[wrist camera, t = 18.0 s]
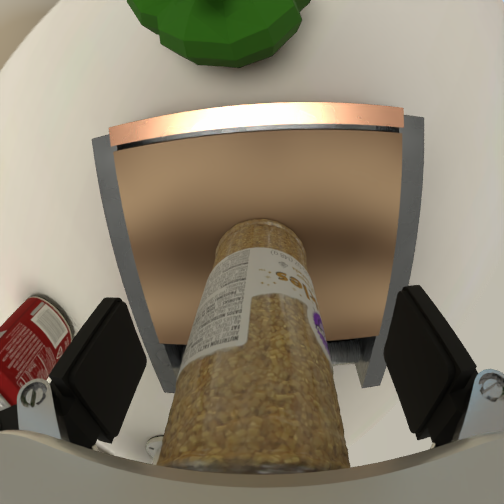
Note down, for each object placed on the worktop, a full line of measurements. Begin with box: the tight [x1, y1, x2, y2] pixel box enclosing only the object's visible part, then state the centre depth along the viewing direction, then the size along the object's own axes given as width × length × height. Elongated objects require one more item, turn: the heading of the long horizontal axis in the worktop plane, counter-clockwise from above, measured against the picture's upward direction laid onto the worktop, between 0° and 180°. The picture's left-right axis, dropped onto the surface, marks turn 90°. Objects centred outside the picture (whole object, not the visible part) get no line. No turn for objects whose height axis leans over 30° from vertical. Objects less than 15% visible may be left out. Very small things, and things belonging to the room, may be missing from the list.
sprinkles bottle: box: [156, 219, 351, 475], centre depth 9 cm, size 5×5×13 cm
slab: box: [113, 129, 402, 345], centre depth 16 cm, size 12×14×2 cm
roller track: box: [92, 102, 424, 393], centre depth 18 cm, size 20×18×5 cm
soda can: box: [0, 296, 72, 411], centre depth 19 cm, size 7×7×12 cm
